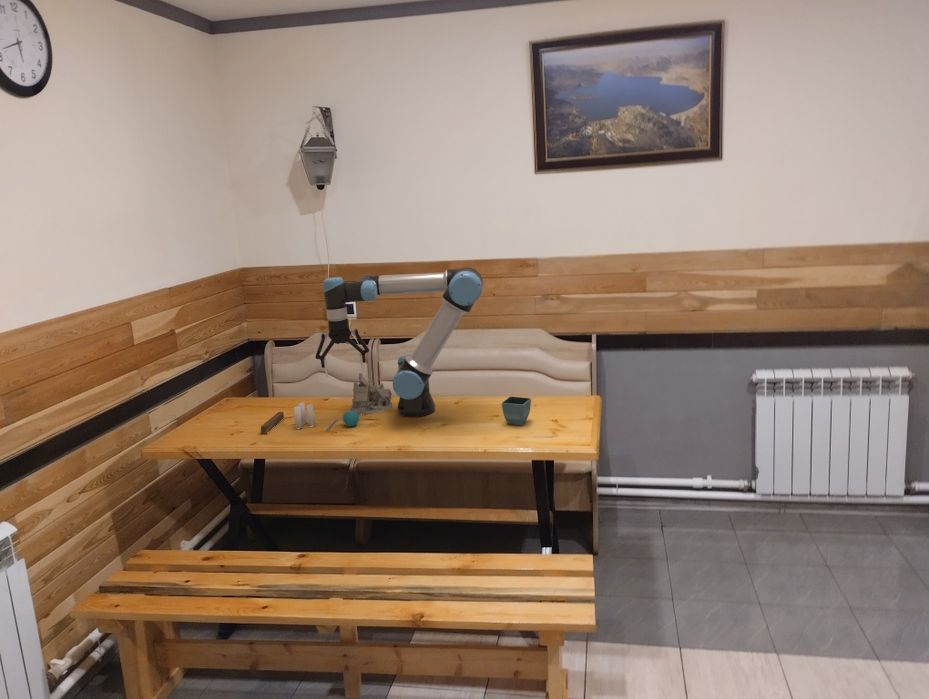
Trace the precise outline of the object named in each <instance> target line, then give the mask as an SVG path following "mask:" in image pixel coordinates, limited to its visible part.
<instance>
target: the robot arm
mask: <svg viewBox="0 0 929 699" xmlns="http://www.w3.org/2000/svg"><path fill="white" fill-rule="evenodd" d="M322 285H323V286H322V287H323V295H324V301H325V310H326V318H327V320H328V321H327V325H328V333H324V332H322V333H321V336H320V337H321V338H320V342H319V345H318V348H317V351H316V353H315V357H314V358H315V360H320V365H321V368H322V369H324V371H325V377H326V378H328V377H329V372H328V364H327V359H326V356H327V355H328V353H329V352H330V350H331V348H332V347H334V345H335V344H337V345H339V344H347V343H349V344H350V345H351V346H352V347H353V348H354V349H355V350H357V351H358V352H359V359H360V366H361V373H363V372H365V368H364V363H366V362H367V361H366V360H367V358H366V354H368V353H370V348H369V347H368V345H367V344H366V342H365V341H364V340H363V339H362V337H361V335H360V334H359V330H358V329H357V328H355V329H353V330H351V329H350V325H349V324H350V323H349V319H348V308H347V303H356V302H357V303H359V302H369V301H374V300H377V299H378V296H381V295H385V296H387V295H404V294H405V295H406V294H407V295H408V294H409V295H411V294H428V293H432V294H433V293H434V294H435V293H442V296H441V298H442V304H441V305H440V307H439V308H438V311H437V312H436V314H435V315H434V317H433V319H432V321H431V322H430V324H429V326H428V327H427V329H426V331H425V332H424V334H423V336H422V338H421V339H420V341H419V343H418V344H417V346H416V347H415V350H414V351H413V352H412V354H407V355H401V356H399V357H398V358H397V367H398V369H397V372H396V374H395V375H394V376H393V378H392V389H393V392H394V393H395V394H396V395H397V396H398V397H399V399H398V402H397V404H398V405H397V414H398V416H402V417H405V418H407V417H409V418H419V417H423V416H428V415H432V414H433V413H435V411H436V404H435V401H434V398H433V396H432V395H431V391H430V377H431V376H432V374H433V369H432V367H433V365H434V363H435V362H436V360H437V358H438V357H439V355H440V354H441V352H442V350H443V349H444V347H445V345H446V343H447V342H448V340H449V339H450V337H451V335H452V334H453V332H454V331H455V329H456V327H457V325H458V323H459V322H460V320H461V318H462V317H463V315H466V314H469V313H470V311H471V310H472V308H473V306H474V305H475V303H476V302H477V301H478V300H479V299H480V297H481V295H482V292H483V278H482V275H481V274H480V273H479V271H478V270H476V269H474V268H472V267H460V268H453V269H450V268H449V269H446V270H445V271H444V272H428V273H426V272H425V273H406V274H405V273H404V274H401V273H400V274H387V275H385V274H383V275H372V274H364V275H363V276H361V277H359V278H358V280H356V281H348V282H345V281H344V279H343V277H340V276H339V277H338V276H336V277H335V276H334V277H328V278H325V279H324V280H323V281H322ZM351 335H353V336H354V337H356V339H357V341H358V342H359V343H360V345H361V346H362V347H360V346H359V345H358V344H357V343H356V342H355V341H353V340H352V339H351ZM328 338H329V339H330V341H329V343H328V345H327V346H326V348H325V350H324V351H323V352H322V349H323V348H324V344H325V341H326V340H327V339H328ZM321 353H322V354H321ZM320 354H321V355H320Z"/></svg>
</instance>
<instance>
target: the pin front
mask: <svg viewBox="0 0 929 699" xmlns="http://www.w3.org/2000/svg"><path fill="white" fill-rule="evenodd" d="M306 410H307V413H306V414H307V420H308V421H307V423H308V427H309V426H314V427H316V422H315V413H314V411H315V410H314V405H313V404H307V405H306Z"/></svg>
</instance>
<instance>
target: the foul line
mask: <svg viewBox="0 0 929 699" xmlns="http://www.w3.org/2000/svg"><path fill="white" fill-rule="evenodd" d="M336 422H337V423H338V422H339V420H338V419H337V420H333V422H332V423H331V424H330V425H329V427H327V428H326V429H325V432H329V431H331V429H332V428H333V427H334V426H335V425H336V424H337V423H336ZM335 423H336V424H335ZM334 424H335V425H334ZM333 425H334V426H333ZM332 426H333V427H332Z"/></svg>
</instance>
